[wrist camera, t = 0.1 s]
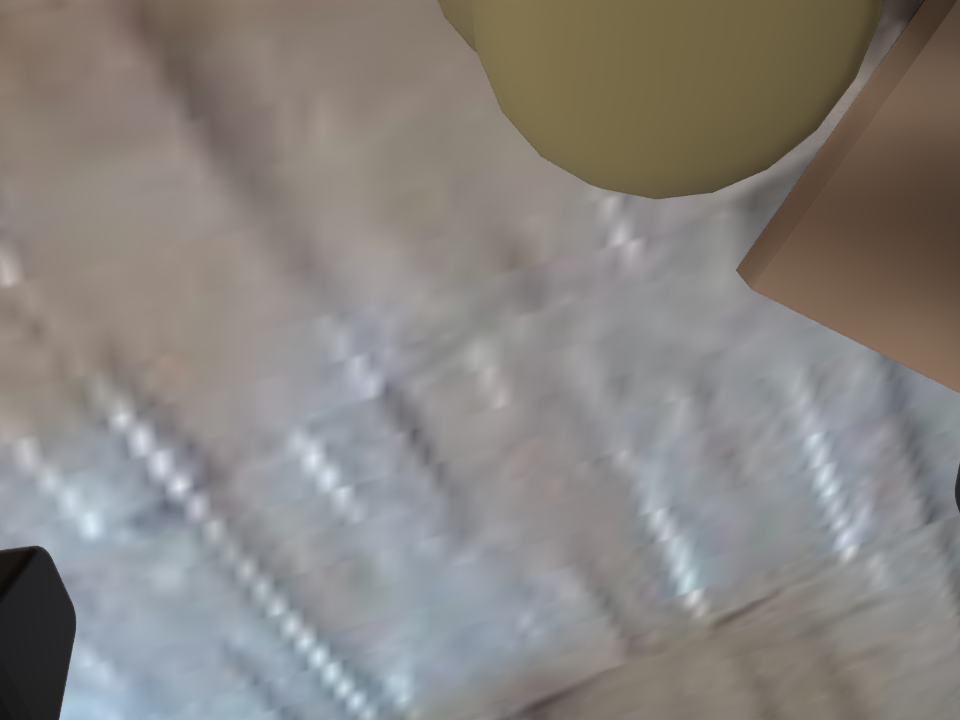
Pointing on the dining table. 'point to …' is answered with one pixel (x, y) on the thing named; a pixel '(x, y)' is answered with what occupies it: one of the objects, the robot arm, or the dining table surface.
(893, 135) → the walnut board
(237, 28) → the dining table surface
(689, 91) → the cork
